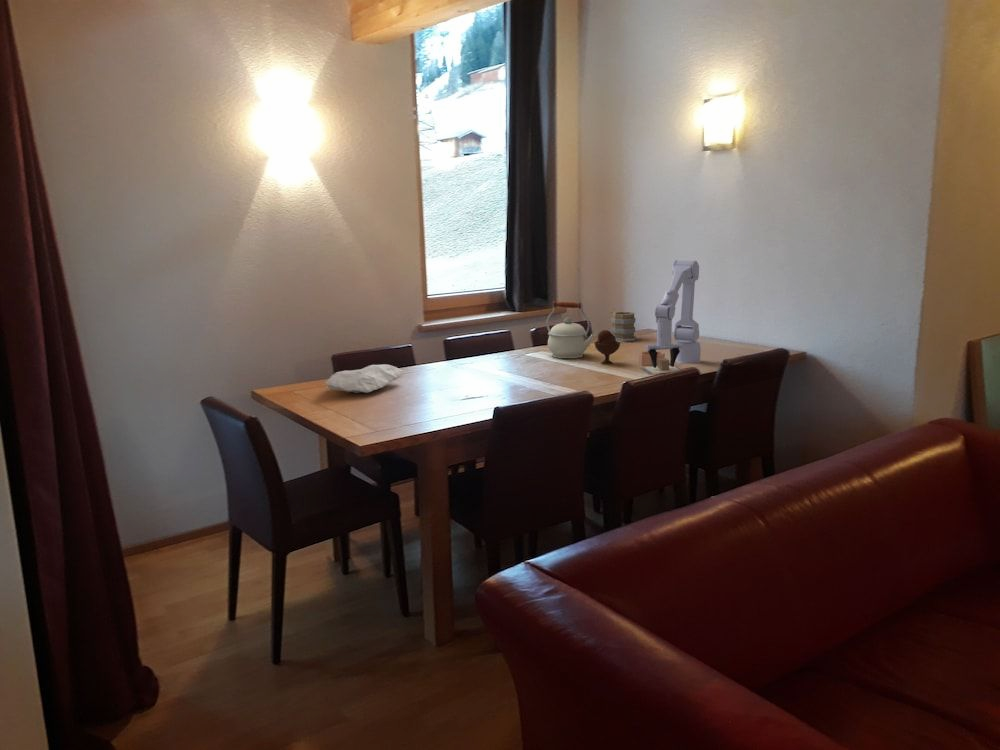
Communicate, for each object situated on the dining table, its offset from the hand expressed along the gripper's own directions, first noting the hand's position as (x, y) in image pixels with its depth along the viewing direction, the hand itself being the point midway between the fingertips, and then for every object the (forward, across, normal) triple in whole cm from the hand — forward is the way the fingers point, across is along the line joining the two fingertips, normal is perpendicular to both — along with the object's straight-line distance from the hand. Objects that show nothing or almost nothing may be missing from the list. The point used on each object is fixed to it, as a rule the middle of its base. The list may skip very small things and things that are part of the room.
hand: (663, 366), depth 310 cm
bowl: (+2, 0, +14) cm, 14 cm away
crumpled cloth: (+2, -122, -4) cm, 122 cm away
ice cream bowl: (+2, -18, +20) cm, 27 cm away
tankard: (+2, +6, +80) cm, 80 cm away
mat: (+2, 0, 0) cm, 2 cm away
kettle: (+2, -29, +41) cm, 50 cm away
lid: (+2, 0, 0) cm, 2 cm away
